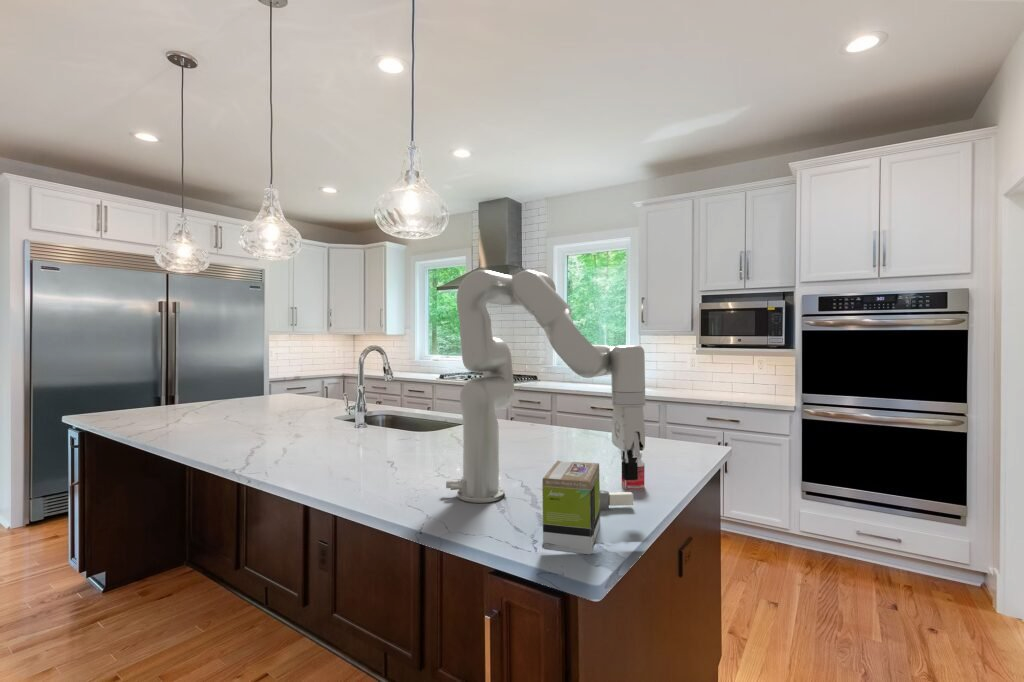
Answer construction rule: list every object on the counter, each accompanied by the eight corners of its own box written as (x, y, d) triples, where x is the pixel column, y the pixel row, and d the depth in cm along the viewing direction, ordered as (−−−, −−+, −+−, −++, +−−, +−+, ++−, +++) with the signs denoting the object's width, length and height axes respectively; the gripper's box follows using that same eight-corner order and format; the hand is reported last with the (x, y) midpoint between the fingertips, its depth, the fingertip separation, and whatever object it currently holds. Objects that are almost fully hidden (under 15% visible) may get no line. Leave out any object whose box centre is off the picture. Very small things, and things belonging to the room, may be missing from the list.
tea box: (556, 523, 115) (557, 458, 115) (601, 528, 112) (601, 462, 112) (541, 550, 100) (541, 475, 100) (591, 556, 97) (592, 480, 97)
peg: (598, 510, 119) (598, 494, 119) (594, 506, 122) (594, 490, 122) (634, 509, 120) (634, 493, 120) (629, 505, 123) (629, 489, 123)
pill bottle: (649, 492, 138) (649, 452, 138) (633, 496, 135) (633, 455, 135) (632, 487, 143) (632, 448, 143) (616, 490, 140) (616, 451, 140)
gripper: (603, 396, 122) (604, 471, 122) (623, 403, 108) (624, 489, 107) (632, 395, 123) (634, 470, 123) (657, 402, 108) (658, 487, 108)
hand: (629, 479), depth 115 cm, fingers closed
